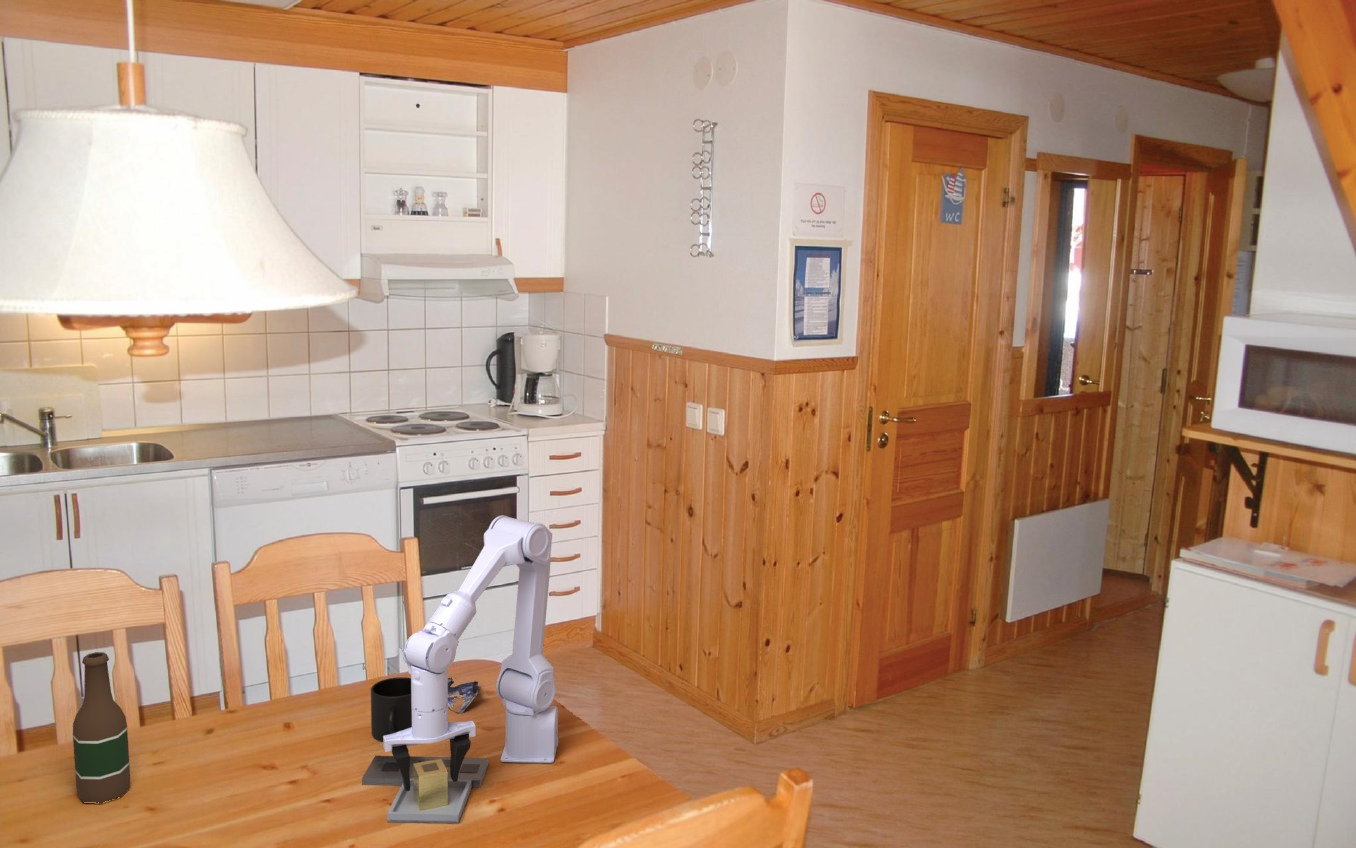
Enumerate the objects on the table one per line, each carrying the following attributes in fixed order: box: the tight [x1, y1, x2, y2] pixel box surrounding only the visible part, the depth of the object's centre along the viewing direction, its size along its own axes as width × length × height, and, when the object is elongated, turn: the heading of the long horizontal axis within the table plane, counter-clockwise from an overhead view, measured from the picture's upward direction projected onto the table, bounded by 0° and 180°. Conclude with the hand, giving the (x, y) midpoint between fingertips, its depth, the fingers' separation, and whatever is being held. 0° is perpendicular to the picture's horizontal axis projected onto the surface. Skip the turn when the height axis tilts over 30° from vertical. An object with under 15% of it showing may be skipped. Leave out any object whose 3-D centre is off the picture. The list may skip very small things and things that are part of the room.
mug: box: [370, 676, 412, 743], centre depth 191 cm, size 9×12×9 cm
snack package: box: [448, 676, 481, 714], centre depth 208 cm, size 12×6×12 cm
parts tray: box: [386, 779, 473, 825], centre depth 168 cm, size 11×11×2 cm
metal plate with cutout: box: [361, 755, 489, 788], centre depth 178 cm, size 20×8×1 cm, turn 91°
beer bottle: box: [72, 651, 131, 803], centre depth 167 cm, size 8×8×24 cm
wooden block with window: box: [413, 759, 448, 811], centre depth 168 cm, size 5×5×6 cm
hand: (430, 783), depth 167 cm, fingers open, 7 cm apart
